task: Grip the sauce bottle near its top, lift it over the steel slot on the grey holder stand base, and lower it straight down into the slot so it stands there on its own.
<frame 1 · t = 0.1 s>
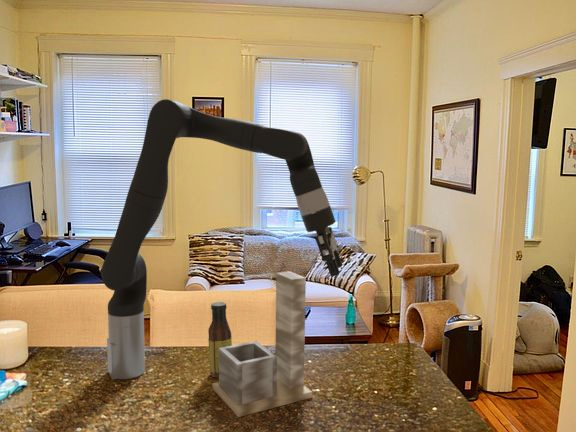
hand: (337, 271, 124), 31 cm above the kitchen counter, tool tilted 20°, fingers open, 8 cm apart
grey holder stand: (261, 393, 127), on the kitchen counter
sauce bottle: (220, 375, 137), on the kitchen counter
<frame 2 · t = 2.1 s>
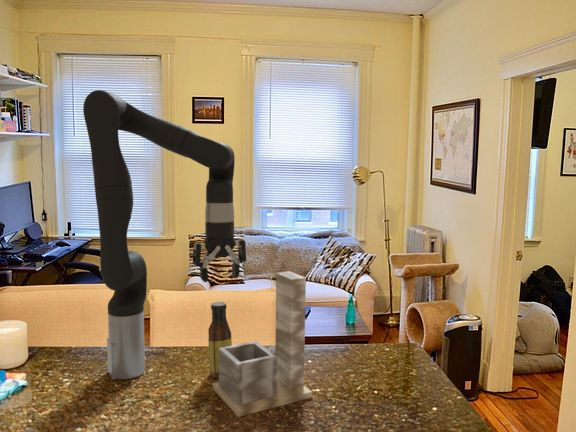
hand: (220, 279, 134), 26 cm above the kitchen counter, tool pointing down, fingers open, 8 cm apart
nothing on the kitchen counter moved.
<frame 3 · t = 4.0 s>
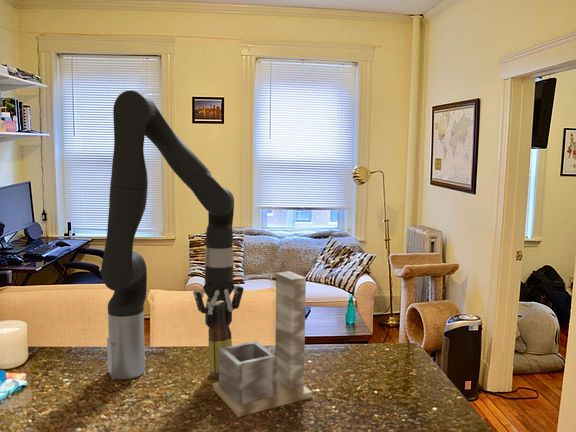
hand: (218, 325, 135), 14 cm above the kitchen counter, tool pointing down, fingers closed on sauce bottle, 4 cm apart
sauce bottle: (220, 375, 137), on the kitchen counter, touching gripper
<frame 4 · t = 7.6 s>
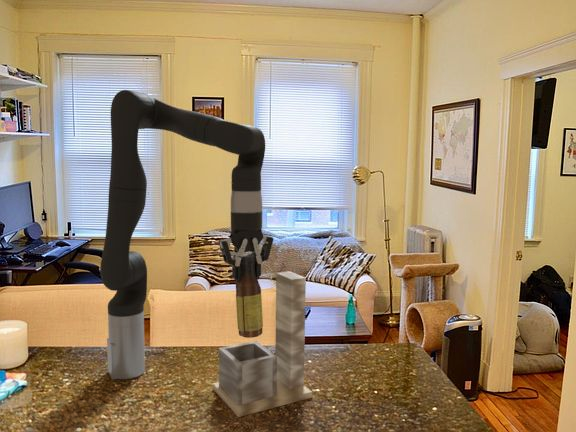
hand: (246, 279, 122), 30 cm above the kitchen counter, tool pointing down, fingers closed on sauce bottle, 4 cm apart
sauce bottle: (249, 335, 124), point 15 cm above the kitchen counter, touching gripper
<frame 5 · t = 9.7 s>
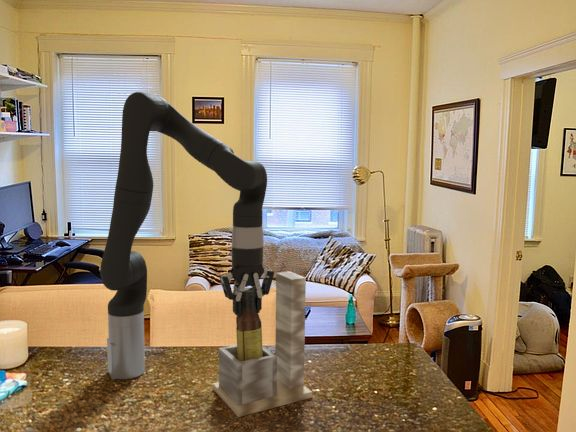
hand: (247, 313, 122), 21 cm above the kitchen counter, tool pointing down, fingers closed on sauce bottle, 4 cm apart
sauce bottle: (249, 368, 124), point 7 cm above the kitchen counter, touching gripper
when the fingers open (17 cm above the kitchen counter, at t = 11.2 s): sauce bottle drops 1 cm, resting on grey holder stand.
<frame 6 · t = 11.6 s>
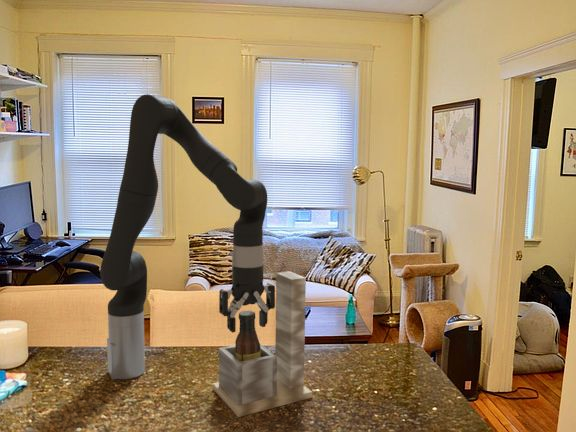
hand: (247, 328, 123), 17 cm above the kitchen counter, tool pointing down, fingers open, 7 cm apart
sauce bottle: (248, 390, 125), point 1 cm above the kitchen counter, touching grey holder stand
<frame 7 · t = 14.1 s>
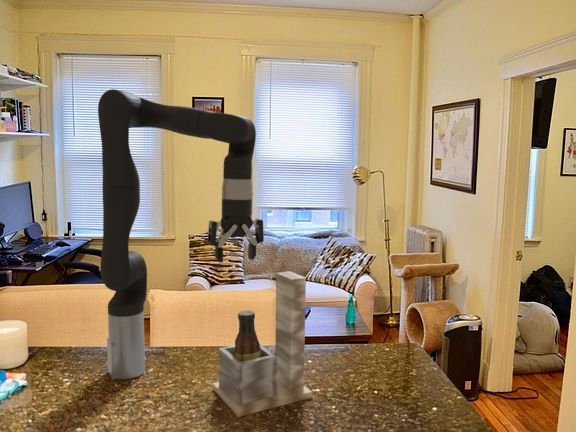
hand: (235, 260, 127), 33 cm above the kitchen counter, tool pointing down, fingers open, 8 cm apart
nothing on the kitchen counter moved.
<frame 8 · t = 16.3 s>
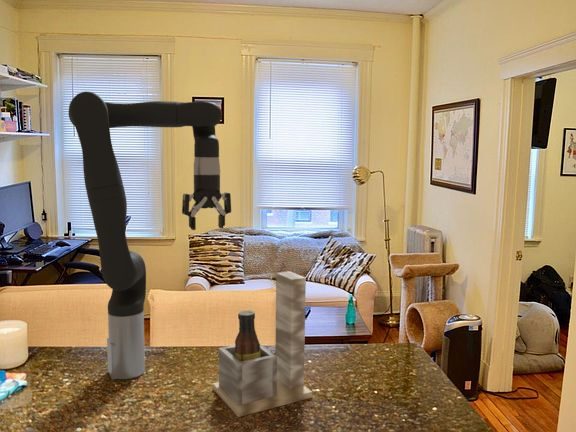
hand: (207, 228, 146), 38 cm above the kitchen counter, tool pointing down, fingers open, 8 cm apart
nothing on the kitchen counter moved.
at the end: sauce bottle 0.3 cm from the target spot on the grey holder stand, point 1.3 cm above the grey holder stand's base; sauce bottle tilted 0°; the gripper is holding nothing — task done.
